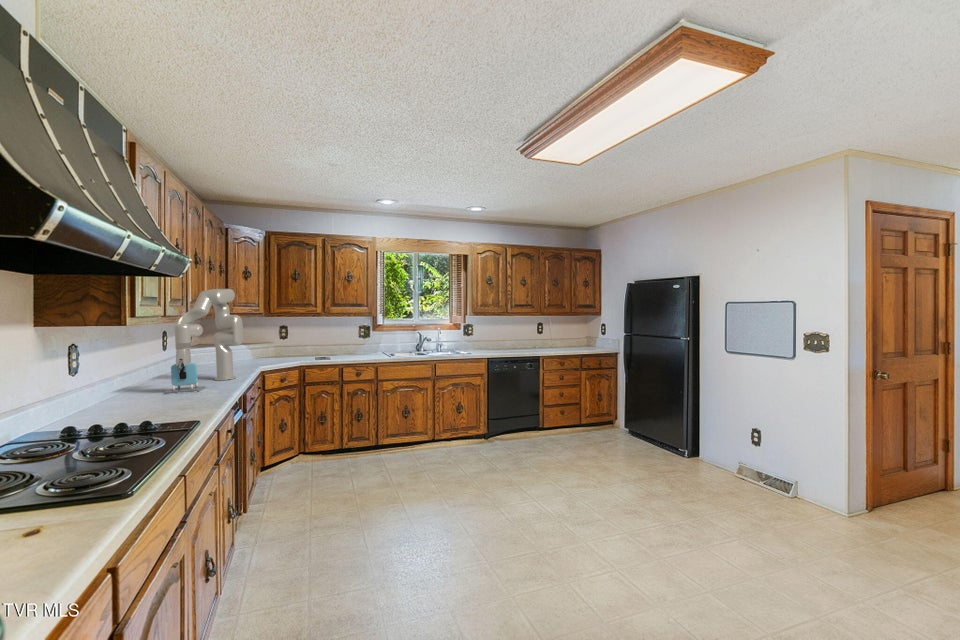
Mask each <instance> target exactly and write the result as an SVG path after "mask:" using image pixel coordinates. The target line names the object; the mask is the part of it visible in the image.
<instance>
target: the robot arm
mask: <svg viewBox="0 0 960 640" xmlns="http://www.w3.org/2000/svg"><path fill="white" fill-rule="evenodd" d="M235 298H236V294H235V291H234V290H233V289H231V288H214V289H213V288H211V289H208V290H202V291H201V292H200V293H199V294H198V297H197V299H196V301H195V303H194V305H193V307H192V308H191V309H190V310H188V311H187V312H185V313H184V314H183V315H181V316H180V318H179V319H178V320H177V322H176V323H175V326H174V341H175V342H174V343H175V345H174V346H175V350H176V351H175V352H176V353H175V364H176V367H179V375H180V379H186V372H185V369H186V366H187V364H189V363H192V360H191V359H192V357H191V349H192V338H196V337H200V336H201V335H202V334H203V332H204V328H203V326H202V325H200V324H198V323H192V322H194V321H196V320H199V319H202V318H205V317H206V316H207V315H208V314H209V312H210V310H211V308H212V306H213V309H214V318H215V319H214V320H215V321H214V322H215V327H216V328H217V330H231V331H218V332H215V334H214V335H213V343H214V348H215V363H216V377H214V381H229V380H228V379H231V380H235V379H236V378H237V376H236V375H234V361H233V359H234V358H233V357H234V356H233V350H232V349H231V348H230V346H231V347H232V346H234V347H236V346H237V347H238V346H240V345H242V344H243V341H244V327H243V325H244V324H243V319H242V317H241V316H240V315H238V314H231V313H230V307H229V305H228V304H229V303H232V302H233V301H234V300H235ZM182 365H184V366H182ZM183 368H184V369H183ZM234 378H235V379H234Z"/></svg>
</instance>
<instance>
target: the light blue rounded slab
mask: <svg viewBox="0 0 960 640" xmlns="http://www.w3.org/2000/svg"><path fill="white" fill-rule="evenodd" d="M182 366H184V365H182ZM183 369H184V368H183ZM185 372H186V379H180V375H179V367H176V363H175V364H172V365H171V367H170V377H171V385H172V386H174V385H175V387H178V386H180V387H181V386H190V385H191V384H193V386H195V384H196V383H197V382H199V379H198V378H199V377H198V376H199V375H198V372H199V371H198V363H197V362H196V363H195V362H191V363H189V364H187V366H186V369H185Z"/></svg>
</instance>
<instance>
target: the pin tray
mask: <svg viewBox="0 0 960 640" xmlns="http://www.w3.org/2000/svg"><path fill="white" fill-rule="evenodd" d="M198 382H199V381H198ZM198 382H197V383H196V384H194V385H193V384H191V385H189V387H188V386H185V387H181V386H177V387H176V386H175V385H174V386H173V385H172V386H171V387H172V388H170V389H168V390H166V391H163V393H175V394H178V393H177V392H190V393H195V392H194V391H199V392H201V391H203V390H204V389H203V388H205V387H206V388H207V386H206V385H202V386H201V385H200V386H199V385H198ZM206 388H205V389H206ZM202 389H203V390H202ZM200 390H201V391H200Z"/></svg>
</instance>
